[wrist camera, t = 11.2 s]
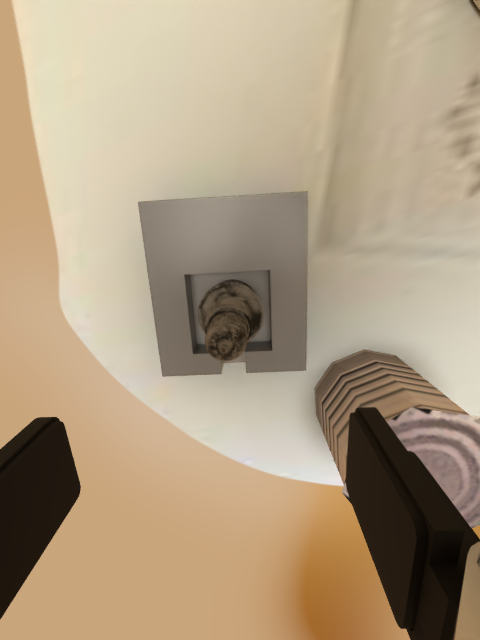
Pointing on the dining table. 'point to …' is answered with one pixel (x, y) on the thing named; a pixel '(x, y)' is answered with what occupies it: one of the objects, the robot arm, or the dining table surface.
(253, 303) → the dark chess piece
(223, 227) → the plate
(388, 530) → the robot arm
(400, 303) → the dining table surface
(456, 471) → the can
